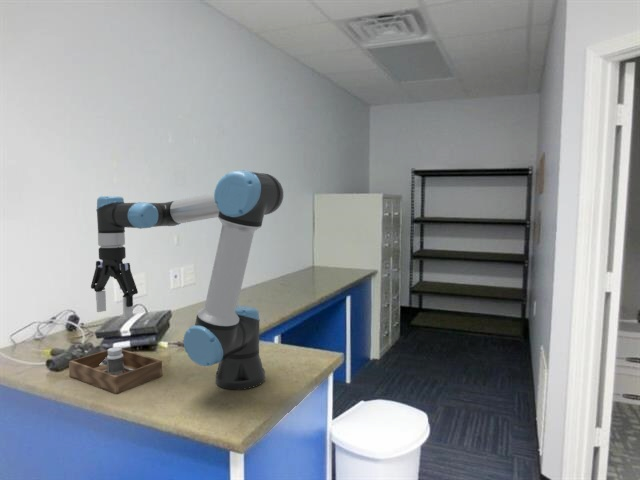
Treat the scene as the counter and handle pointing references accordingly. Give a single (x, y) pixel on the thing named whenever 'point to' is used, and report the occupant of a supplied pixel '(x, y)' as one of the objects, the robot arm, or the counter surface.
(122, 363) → the pill bottle
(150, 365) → the box
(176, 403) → the counter surface
